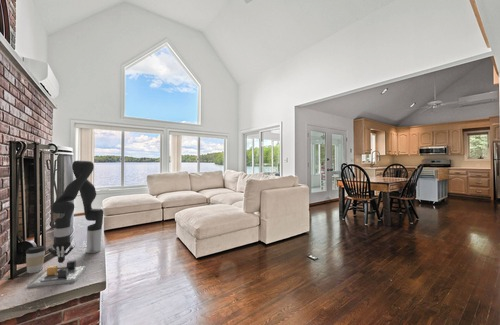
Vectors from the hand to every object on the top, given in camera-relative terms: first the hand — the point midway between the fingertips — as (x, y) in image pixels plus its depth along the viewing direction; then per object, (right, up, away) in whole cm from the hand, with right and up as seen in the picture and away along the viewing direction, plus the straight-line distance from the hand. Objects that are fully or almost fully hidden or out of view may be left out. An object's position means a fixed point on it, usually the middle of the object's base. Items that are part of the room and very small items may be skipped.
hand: (61, 262), depth 131 cm
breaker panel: (-1, -9, 0) cm, 9 cm away
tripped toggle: (-4, -6, -2) cm, 8 cm away
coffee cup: (-22, -8, +6) cm, 24 cm away
